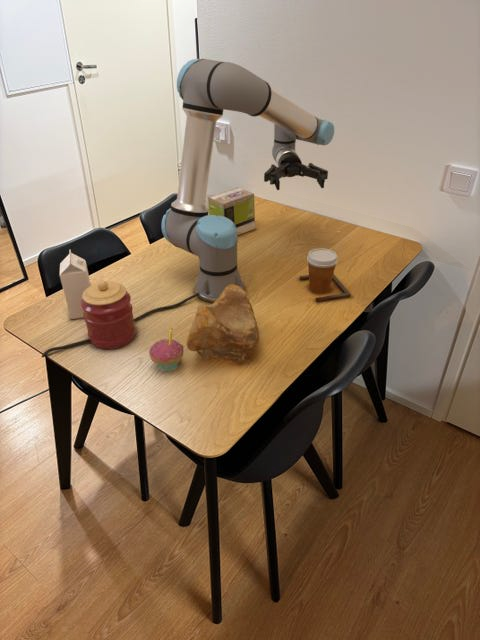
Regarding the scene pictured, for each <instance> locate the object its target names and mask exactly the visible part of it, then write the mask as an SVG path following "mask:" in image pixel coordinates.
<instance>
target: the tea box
mask: <svg viewBox="0 0 480 640" xmlns="http://www.w3.org/2000/svg"><path fill="white" fill-rule="evenodd" d="M207 200H208V201H207V203H208V209H209V212H208V215H216V216H223V217H226V218H228V219H230V220H231V221H232V222H233V223H234V224H235V226H236V233H237V236H240V235H243V234H245V233H247V232H250V231H253V230H255V229H256V214H255V213H256V209H255V193H254V192H250V191H248V190H245V189H243V188H241V187H235V188H232V189H229V190H226V191H223V192H219V193H217V194H214V195H210V196H207Z"/></svg>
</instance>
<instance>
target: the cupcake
mask: <svg viewBox="0 0 480 640" xmlns="http://www.w3.org/2000/svg"><path fill="white" fill-rule="evenodd" d="M148 353H149V358H150V360H151V362H152V363H155V364H157V366H158V367H159V369H160V370H161V371H164V372H171V371H174V370H175V369H176V368H177V367H178V365H179V361H180V360H181V359H182V358H183V356H184V345H183V344H182V343H180V342H179V341H177V340H176V339H173V327H171V328H170V330H169V336H168V338H164V339H160V340H157V341H156V342H154V343H153V345H151V346H150V348H149V352H148Z"/></svg>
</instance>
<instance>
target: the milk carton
mask: <svg viewBox="0 0 480 640" xmlns="http://www.w3.org/2000/svg"><path fill="white" fill-rule="evenodd" d="M59 279H60V283H61V286H62V290H63V294H64V298H65V302H66V305H67V309H68V313H69V318H70V320H75V319H80V318H81V319H83V318H84V317H83V312H84V310H83V309H82V307H81V301H82V299H83V298H82V294H83V292H84V291H85V290H86V289H87V288H88V287H90V286H91V285H92V283H91V280H90V279H91V278H90V274H89V270H88V265H87V261H86V260H85V258H82V257H80V256H78V255H77V254H74V253H73V252H72V251H71V249H69V253H68V255H66V257H65V258H64V259H63V260H62V261H61V262H60V264H59Z"/></svg>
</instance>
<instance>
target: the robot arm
mask: <svg viewBox="0 0 480 640" xmlns="http://www.w3.org/2000/svg"><path fill="white" fill-rule="evenodd" d="M176 90H177V93H178V95H179V97H180V99H181V100H182V111H183V112H184V113H185V115H186V119H185V129H184V136H183V145H182V152H181V153H182V154H181V162H180V170H179V177H178V180H179V181H178V187H177V195H176V199H175V200H174V201H172V202H171V205H170V208H168V209H167V210H166V212H165V214H163V216H162V218H161V232H162V233H161V234H162V235H163V237H164V239H165V240H166V241H167V242H168V243H170V244H171V245H173V246H174V247H176V248H178V249H181V250H183V251H186V252H188V253H190V254H192V255H194V256H196V257H198V265H199V271H198V274H197V277H196V281H195V285H194V290H195V291H194V292H195V294H193V295H190V296H188V297H187V298H185V299H183V300H181V301H179V302H177V303H174V304H171V305H165V306H160V307H157V308H154V309H151V310H149V311H146V312H144V313H142V314H141V315H139V316H137V317H135V318H134V323H135V322H137V321H139V320H142V319H143V318H145V317H147V316H149V315H151V314H153V313H156V312H159V311H165V310H169V309H173V308H177V307H179V306H181V305H184V304H186V303H187V302H188V301H191V300H192V299H194V298H198V299H200V300H201V301H203V302H206V303H211V304H213V303H214V302H215V301H216V300H217V299H218V298H219V297H220V295H221V293H222V292H223V291H224V289H225V288H226V287H227V286H228V285H231V284H234V285H237V286H240V288H241V289H243V290H244V282H243V277H242V275H241V274H240V271H239V269H238V235H237V233H236V226H235V224H234V223H233V222H232V221H231V220H230V219H228V218H226V217H223V216H216V215H209V207H208V206H207V204H206V197H207V192H208V191H207V190H208V183H209V175H210V170H211V163H212V162H211V161H212V157H213V156H212V155H213V150H214V149H213V148H214V141H215V140H214V139H215V134H216V126H217V122H218V121H219V120H220V119H221V118H222V117H223V115H224V110H225V111H232V112H238V113H242V114H247V115H248V116H250V117H252V118H253V117H255V118H256V117H260V118H262V119H264V120H266V121H268V122H270V123H273V124H274V125H273V127H274V128H273V130H274V131H273V132H274V133H273V146H272V148H271V155H272V157H273V160H274V161H275V163H276V164H274V163H273V164H271V165H270V167H269V168H268V169H267V170H266V171H265V172H264V173H263V182H265V183H267V182H269V185H274V186H275V189H276V191H280V188H281V187H280V185H281V181H280V179H282V178H294V177H296V176H297V177H302V178H304V177H308V178H310V179H314V180H316V182H317V184H318V185H319V187H320V188H321V189H324V188H325V182H326V180H328V176H329V171H328V170H327V169H326V168H322V167H319V166H318V165H315V164H313V163H312V162H309V163H308V164H307V165H305V164H304V163H303V162H302V159H301V158H300V156H299V155H298V153H297V152H296V143H297V142H296V141H303V142H306V143H311V144H314V145H317V146H327V145H329V144H330V143H332V141H333V138H334V136H335V126H334V123H333V122H332V121H330V120H326V119H321V118H318V117H317V116H315V115H313V114H312V113H310V112H308V111H307V110H306V109H304V108H302V107H300V106H299V105H297V104H295V102H292V101H290V99H287V98H286V97H284V96H282V95H281V94H279V93H277V91H274V90H273V89H272V86H271V85H270V83H269V82H268V81H266V80H265V79H263V78H261V77H260V76H258V75H257V74H255V73H253V72H252V71H251V70H249V69H246V68H245V67H243V66H241V65H239V64H236V63H234V62H230V61H222V60H221V61H220V60H213V59H208V58H193V59H190V60H188V61H187V62H186V63H184V64H183V66H182V67H180V70H179V72H178V74H177V78H176ZM87 343H91V341H90V339H89V338H87V339H83V340H79V341H76V342H73V343H72V342H71V343H67V344H65V345H61V346H60V345H59V346H53V347H51V348H48V349H46V350H45V351H44V352H43V353H42V355H41V358H45V357H46V356H47V355H48V354H49V353H52V352H54V351H55V352H56V351H60V350H65V349H68V348H73V347H76V346H80V345H83V344H87Z"/></svg>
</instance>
